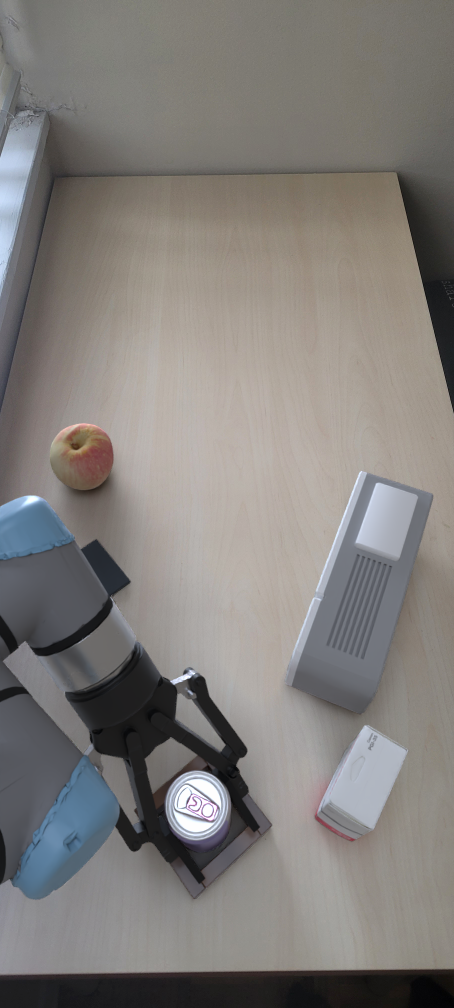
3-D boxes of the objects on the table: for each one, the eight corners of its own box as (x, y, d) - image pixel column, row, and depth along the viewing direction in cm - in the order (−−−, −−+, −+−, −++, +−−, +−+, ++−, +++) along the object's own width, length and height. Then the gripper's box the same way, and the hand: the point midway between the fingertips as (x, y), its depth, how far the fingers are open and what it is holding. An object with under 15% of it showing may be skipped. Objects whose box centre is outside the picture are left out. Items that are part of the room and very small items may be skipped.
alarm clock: (348, 508, 89) (364, 459, 79) (414, 530, 87) (438, 482, 77) (282, 691, 76) (289, 659, 66) (357, 721, 74) (377, 694, 64)
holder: (195, 899, 65) (193, 899, 62) (137, 813, 69) (133, 810, 66) (270, 828, 68) (272, 825, 65) (211, 750, 72) (210, 744, 69)
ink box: (352, 844, 67) (373, 835, 57) (310, 817, 69) (324, 804, 59) (386, 769, 71) (411, 749, 61) (346, 745, 73) (365, 721, 62)
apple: (114, 444, 95) (105, 409, 88) (121, 493, 90) (112, 461, 84) (55, 454, 94) (41, 420, 87) (59, 505, 89) (45, 472, 83)
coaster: (78, 619, 81) (77, 617, 80) (45, 574, 84) (44, 572, 83) (130, 582, 83) (130, 580, 83) (97, 540, 87) (96, 538, 86)
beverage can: (216, 863, 66) (213, 856, 54) (165, 836, 68) (150, 823, 55) (239, 806, 69) (242, 786, 57) (190, 781, 71) (181, 756, 58)
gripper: (173, 589, 60) (277, 762, 68) (-6, 720, 54) (130, 895, 61) (206, 608, 54) (318, 798, 61) (6, 760, 47) (157, 951, 55)
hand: (223, 846), depth 61 cm, fingers closed on beverage can, 6 cm apart
